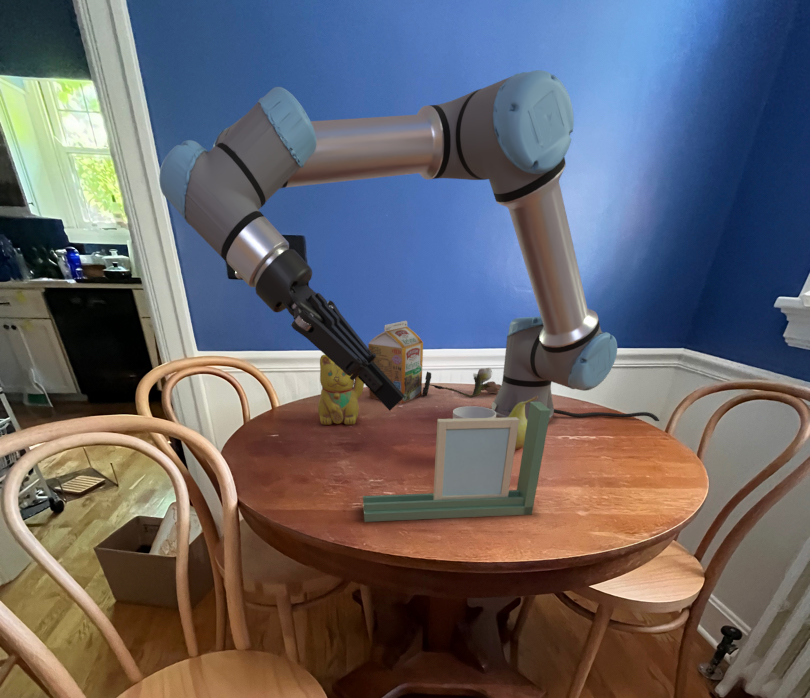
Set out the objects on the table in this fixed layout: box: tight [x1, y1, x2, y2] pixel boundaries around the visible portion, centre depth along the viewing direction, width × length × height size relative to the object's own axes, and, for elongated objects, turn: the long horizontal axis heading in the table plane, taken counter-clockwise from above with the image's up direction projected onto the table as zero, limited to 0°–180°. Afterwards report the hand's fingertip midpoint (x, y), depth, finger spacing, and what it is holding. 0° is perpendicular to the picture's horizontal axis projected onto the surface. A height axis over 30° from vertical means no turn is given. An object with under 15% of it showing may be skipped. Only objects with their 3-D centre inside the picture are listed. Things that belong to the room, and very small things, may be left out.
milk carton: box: [367, 320, 424, 405], centre depth 129 cm, size 11×11×19 cm
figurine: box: [317, 354, 365, 426], centre depth 112 cm, size 11×9×15 cm
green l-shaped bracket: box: [362, 402, 551, 523], centre depth 73 cm, size 27×4×17 cm, turn 97°
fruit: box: [508, 396, 538, 450], centre depth 98 cm, size 7×8×12 cm
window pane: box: [433, 417, 519, 500], centre depth 73 cm, size 12×1×13 cm, turn 97°
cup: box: [452, 405, 496, 419], centre depth 92 cm, size 8×8×10 cm
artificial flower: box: [421, 367, 502, 398], centre depth 135 cm, size 9×22×10 cm, turn 89°
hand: (397, 403), depth 69 cm, fingers closed
